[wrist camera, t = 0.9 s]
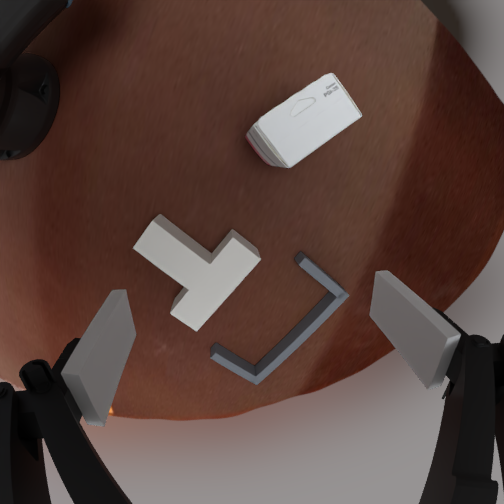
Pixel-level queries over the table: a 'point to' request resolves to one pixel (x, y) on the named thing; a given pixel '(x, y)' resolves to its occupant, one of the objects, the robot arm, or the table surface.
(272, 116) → the ink box
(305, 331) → the dock
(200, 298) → the t block
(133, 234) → the table surface
